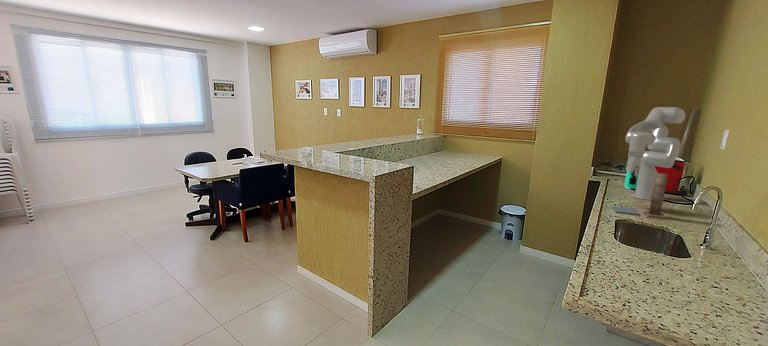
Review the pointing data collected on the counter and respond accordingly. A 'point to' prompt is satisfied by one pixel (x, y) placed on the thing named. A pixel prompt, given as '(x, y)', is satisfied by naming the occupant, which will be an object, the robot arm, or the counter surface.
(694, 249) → the counter surface
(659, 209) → the post
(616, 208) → the mat
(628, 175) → the candle
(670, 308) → the counter surface
